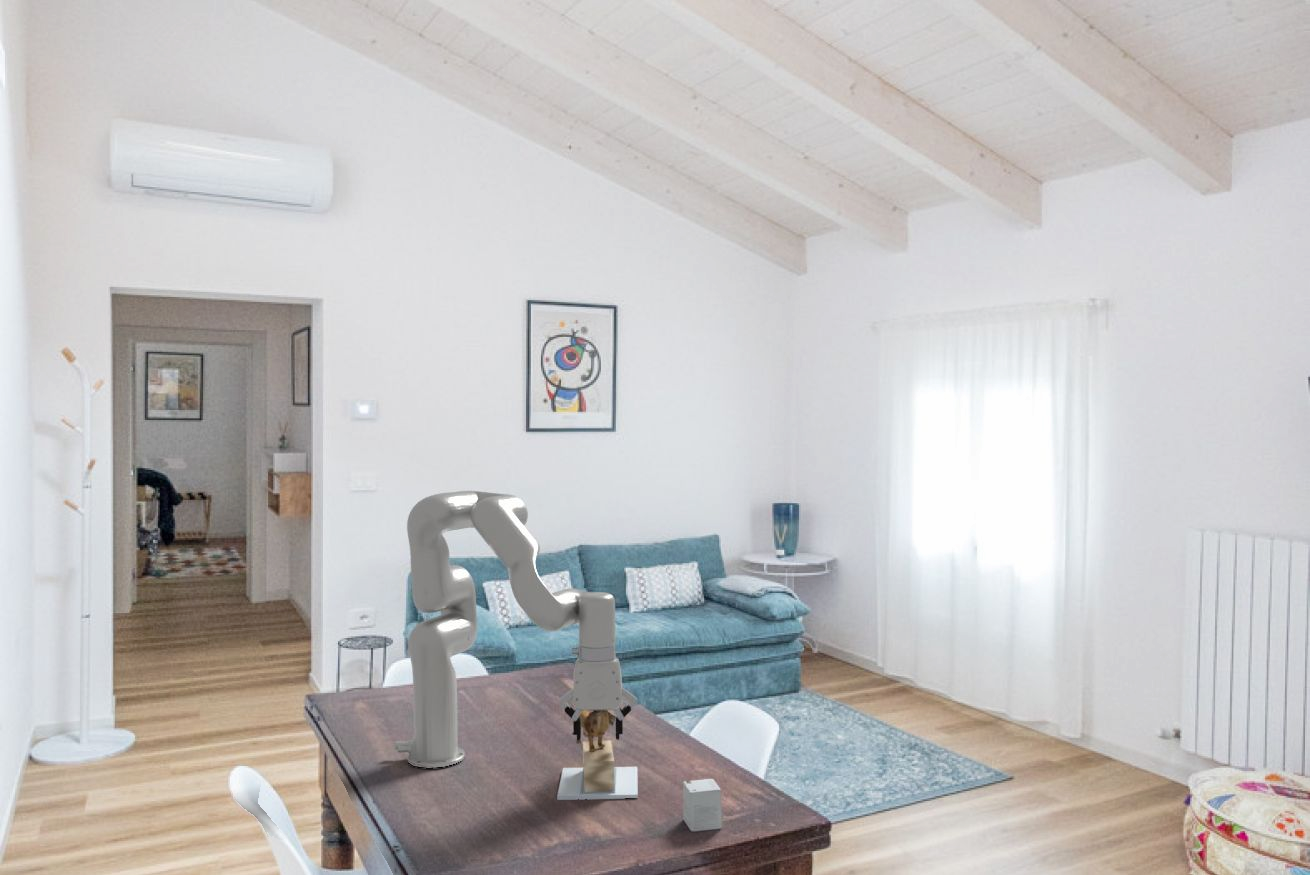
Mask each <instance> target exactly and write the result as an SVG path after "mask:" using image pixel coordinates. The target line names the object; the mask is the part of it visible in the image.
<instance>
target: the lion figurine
mask: <svg viewBox="0 0 1310 875" xmlns="http://www.w3.org/2000/svg"><path fill="white" fill-rule="evenodd" d="M616 717H617V716H616V715H613V714H611V713H610V711H609V710H599V711H582V712H581V714H580V718H581V728H582V736H583V737H584V738H588V739H587V741H589V751H591V752H592V751H595V747H594V744H593V741H594V738H596V737H597V741H598V746H599V747H600V748H604V747H605V745H604V744H602V741H603V739H604V738H603V737H604V735H605V734H606V732H607V731H608V730H609V729H610V726H611V727H612V726H614V722H616ZM571 735H572V736H575V735H574V731H573V732H572V733H571ZM581 739H582V738H580V740H577V739H576V740H575V741H576V742H575V743H576V744H578V745H579V744H581V743H582V740H581Z"/></svg>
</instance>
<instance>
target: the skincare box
mask: <svg viewBox="0 0 1310 875" xmlns="http://www.w3.org/2000/svg"><path fill="white" fill-rule="evenodd" d="M682 786H683V787H682V788H683V789H682V791H683V792H682V793H683V794H682V798H683V800H682V801H683V821H684V822H685V824H686V825H687V827H688V829H689V830H690V832H701V831H711V830H718V829H719V830H720V829H722V828H723V818H722V817H723V816H722V815H723V814H722V811H723V808H722V789H721V788H720V786H719V785H718V784H717V782H716V781H715V780H714V779H713V778H704V779H693V780H684V781H683V782H682Z"/></svg>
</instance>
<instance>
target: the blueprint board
mask: <svg viewBox="0 0 1310 875" xmlns="http://www.w3.org/2000/svg"><path fill="white" fill-rule="evenodd" d="M638 779H639V778H638V766H614V781H615V791H598V792H585V789H584V774H583V767H563V768H562V771H561V776H560V782H559V787H558V791H557V795H556V797H557V801H574V800H575V801H577V800H578V799H579V800H584V801H585V799H587V800H621V799H622V800H626V799H625V798H639V797H638V796H639V794H638V793H639V792H638V791H639V790H638V788H639V787H638V785H639V784H638V783H639V782H638Z"/></svg>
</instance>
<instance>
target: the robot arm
mask: <svg viewBox="0 0 1310 875" xmlns="http://www.w3.org/2000/svg"><path fill="white" fill-rule="evenodd" d="M528 518H529V514H528V508H527V506H526V504H525V503H524V501H523V500H522V499H520V498H519V497H518V496H516V495H513V494H506V493H497V492H496V493H495V492H487V491H479V490H477V491H476V490H461V491H460V490H459V491H451V492H449V491H448V492H441V493H440V492H439V493H436V494H433V495H432V494H431V495H429V496H425V497H424V498H422V499H421V500H419V501H417V503H415V504H414V505H413V507H412V508H411V510H410V512H409V514H408V516H407V521H406V532H407V538H408V545H409V553H410V575H411V592H412V593H411V594H412V600H413V601H412V602H413V603H414V604H413V605H414V607H415V608H416V609H417V610H418V611H420V612H422V613H425V614H426V613H427V614H430V613H438V612H440V615H438V616H434V617H431V618H429V619H425V620H423V621H421V622H419V623H417V625H415V626H414V628H412V630H411V632H410V633H409V636H408V641H407V645H408V646H407V647H408V649H407V650H408V652H409V659H410V663H411V668H412V685H413V686H412V692H413V693H412V694H413V695H412V696H413V699H412V700H413V739H410V740H409V741H405V740H401V741H400V740H399V741H398V740H396V741H395V743H394V750H395V751H397V753H399V754H400V753H401V754H402V753H408V755H407V757H406V761H407V760H408V762H409V763H411V764H413V765H417V766H421V767H443V768H446V767H445V766H448V767H450V766H449V765H452V766H454V765H453V764H455V765H457V764H459V763H460V761H461V762H462V761H463V760H465V758H464V757H466V752H465V750H464V749H462V748H460V747H459V745H458V743H459V742H458V683H457V674H456V671H455V668H454V666H453V664H452V659H451V658H452V657H453V656H456V655H460V654H462V653H464V652H466V651H467V650H470V649H471V648H472V646H473V645H474V644H475V642H476V639H477V636H478V619H477V618H478V616H477V600H476V598H477V597H476V594H477V593H476V586H475V582H474V579H473V577H472V575H471V574H470V572H469V571H468V570H467V569H466V568H464V567H463V566H460V565H457V564H451V563H450V551H449V550H450V549H449V548H450V547H449V546H448V543H447V541H446V539H445V537H444V535H443V534H444V533H446V532H452V531H458V530H464V529H470V528H474V529H475V530H476V532H477V533H478V534H479V536H481V538H482V539H483V540H484V542H485V543H486V544H487V545H488V546H489V548H490V549H491V550H492V552H493V553H494V554H495V555H496V557H497V558H498V559H499V561H501V563H502V564H503V565H504V567H505V568H506V569H507V572H508V573H507V574H508V581H509V585H510V587H511V590H512V591H511V592H512V594H513V597H514V599H515V600H516V602H517V604H518V606H520V608H521V610H523V612H524V613H525V615H527V617H528V619H529V620H531V621H532V623H533V624H534V625H535V626H537V627H538V628H539V629H540V630H543V631H544V632H545V631H546V632H552V633H553V632H556V631H559V630H562V629H565V628H567V627H570V626H574V625H577V624H578V645H577V646H576V647H572V649H571V654H572V655H576V656H577V657H578V658H577V659H576V660H575V662H574V663H575V664H574V668H573V676H572V679H573V680H572V682H573V684H572V688H571V689H570V690H569V691H567V692H566V693H564V694H563V695H562V696H561V697H559V698H558V700H557V703H558V704H559V706H560V707H561V709H562V710H563V711H564V713H565V714H566V715H567V716H568V717H569V718H570V719H571V721H572V722H573V724H572V725H573V732H574V735H573V736H576V741H577V740H580V739H582V738H581V737H582V727H581V718H580V714H581V712H582V711H589V712H593V711H599V710H607V711H613V712H614V714H615V717H616V718H615V739H616V740H619V741H620V735H623V734H624V732H623V730H624V729H623V721H624V719H625V717H626V716H628V715H629V713H630V712H631V711H632V710H633V709H634V707H635V705H637V703H638V697H636V696H635V695H634V694H633V693H631V692H630V691H628V690H627V689H626V688H624V686H623V679H622V670H621V669H622V668H621V665H620V664H621V663H620V660H619V658H618V657H616V656H617V655H616V601H615V600H616V599H615V597H614V596H613V595H612V594H611V593H608V592H604V591H603V592H602V591H601V592H600V591H597V592H596V591H593V592H590V591H585V590H582V589H577V588H573V587H572V588H570V587H569V588H565V589H561V590H558V591H556V592H555V591H554V592H551V591H550V589H549V588H548V587H547V586H546V584H545V583H544V582H543V580H542V579H541V577H540V575H539V574H538V571H537V567H536V561H537V557H538V556H539V553H540V550H541V548H540V544H539V542H538V541H537V539H535V538H534V537H533V535H532V534H531V533H530V531H528V528H526V527H525V525H526V524H527V521H528ZM623 698H625V699H626V700H628V702H627V704H626V705H625V706H624V707H623V708H622V705H623ZM571 699H572V704H573V707H571V706H570V704H569V703H568V701H569V700H571ZM408 762H407V763H408ZM458 762H459V763H458ZM456 763H457V764H456Z"/></svg>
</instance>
